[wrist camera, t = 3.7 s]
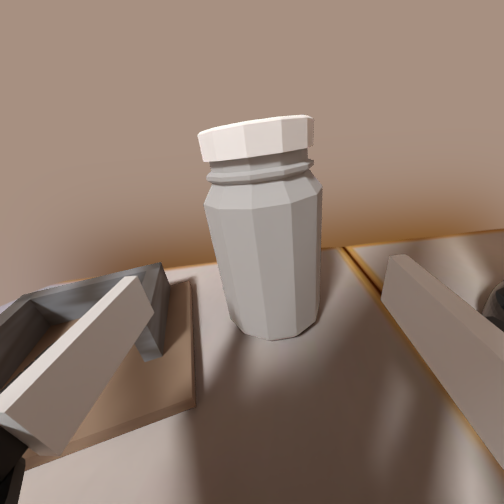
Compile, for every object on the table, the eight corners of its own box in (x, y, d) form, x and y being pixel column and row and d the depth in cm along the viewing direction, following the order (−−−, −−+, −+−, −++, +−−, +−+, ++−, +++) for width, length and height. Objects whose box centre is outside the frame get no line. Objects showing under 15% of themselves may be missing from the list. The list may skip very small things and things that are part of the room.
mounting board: (191, 287, 30) (181, 255, 27) (196, 406, 16) (175, 362, 13) (28, 331, 26) (0, 298, 23) (-157, 539, 12) (-273, 510, 9)
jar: (314, 284, 27) (316, 119, 18) (326, 352, 18) (338, 103, 10) (240, 284, 29) (212, 136, 20) (219, 346, 20) (157, 134, 12)
